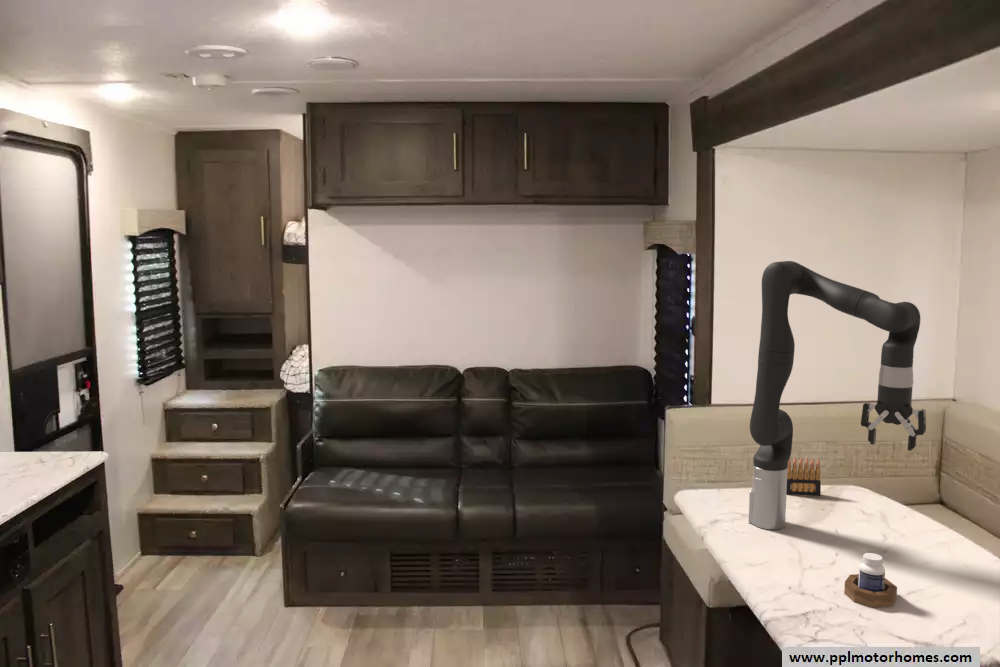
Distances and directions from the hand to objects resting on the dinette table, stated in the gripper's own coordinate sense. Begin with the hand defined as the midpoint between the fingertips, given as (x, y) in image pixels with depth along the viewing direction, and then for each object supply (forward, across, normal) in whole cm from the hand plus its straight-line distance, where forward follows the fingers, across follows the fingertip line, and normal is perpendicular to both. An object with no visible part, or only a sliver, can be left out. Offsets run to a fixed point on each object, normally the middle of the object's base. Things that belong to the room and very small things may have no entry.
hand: (891, 446), depth 192 cm
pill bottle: (+30, +2, -22) cm, 37 cm away
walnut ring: (+30, +2, -22) cm, 37 cm away
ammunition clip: (+30, -32, +36) cm, 57 cm away
